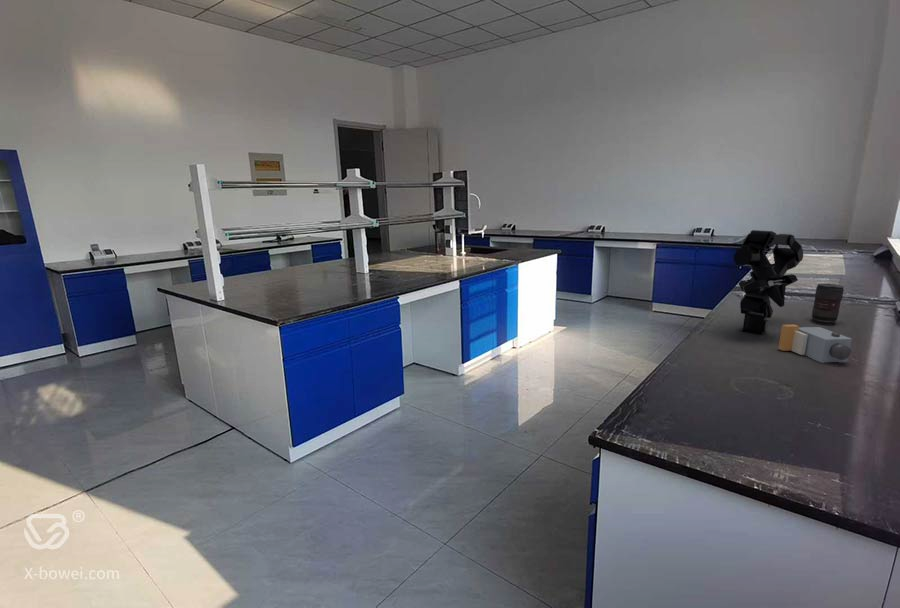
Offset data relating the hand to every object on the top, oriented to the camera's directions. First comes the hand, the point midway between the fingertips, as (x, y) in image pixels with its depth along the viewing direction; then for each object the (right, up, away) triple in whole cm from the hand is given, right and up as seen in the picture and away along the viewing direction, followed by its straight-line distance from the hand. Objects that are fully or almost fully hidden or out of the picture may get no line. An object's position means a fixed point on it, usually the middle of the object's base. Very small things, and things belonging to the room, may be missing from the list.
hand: (782, 306), depth 152 cm
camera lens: (+34, -7, +24) cm, 42 cm away
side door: (-2, -15, -6) cm, 16 cm away
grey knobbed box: (+5, -16, -10) cm, 19 cm away
